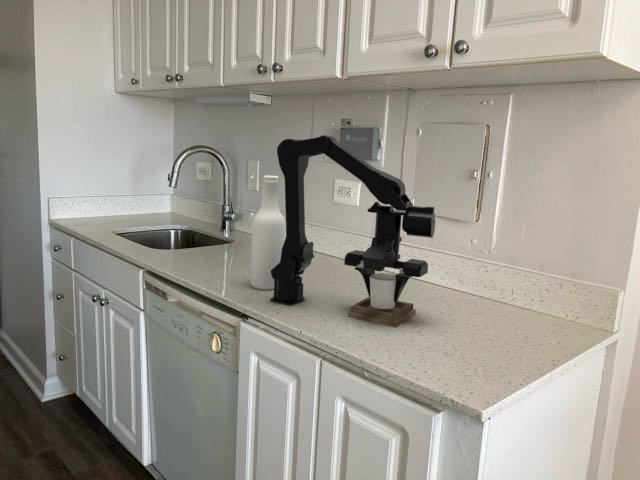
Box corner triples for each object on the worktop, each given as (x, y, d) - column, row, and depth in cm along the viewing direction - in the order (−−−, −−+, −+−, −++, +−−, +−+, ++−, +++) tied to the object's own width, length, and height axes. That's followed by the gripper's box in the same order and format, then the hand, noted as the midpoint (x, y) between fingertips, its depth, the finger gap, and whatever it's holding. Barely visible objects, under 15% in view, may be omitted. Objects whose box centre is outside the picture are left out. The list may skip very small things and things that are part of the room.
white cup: (378, 299, 128) (380, 271, 127) (402, 305, 124) (404, 276, 123) (362, 305, 123) (363, 275, 122) (387, 311, 119) (389, 281, 118)
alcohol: (287, 289, 143) (293, 177, 138) (256, 291, 139) (261, 176, 134) (275, 280, 151) (280, 175, 145) (245, 282, 147) (249, 174, 141)
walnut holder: (347, 316, 122) (348, 306, 122) (369, 304, 132) (370, 294, 132) (396, 327, 116) (397, 316, 116) (415, 313, 126) (416, 303, 126)
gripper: (334, 232, 118) (331, 299, 121) (414, 243, 109) (408, 315, 112) (356, 226, 128) (353, 289, 131) (431, 236, 119) (425, 303, 122)
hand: (382, 299), depth 124 cm, fingers closed on white cup, 6 cm apart
